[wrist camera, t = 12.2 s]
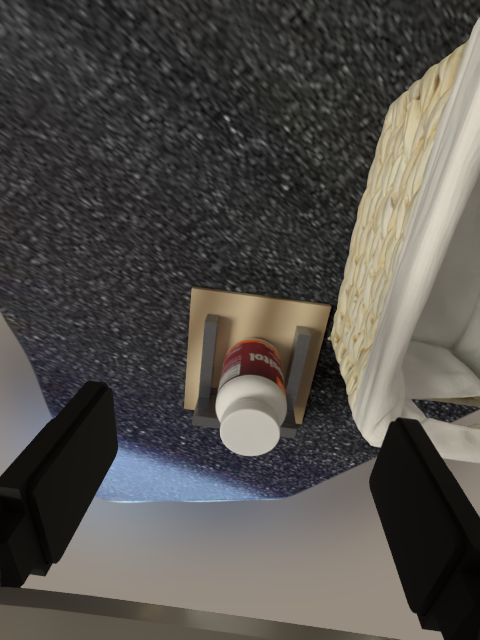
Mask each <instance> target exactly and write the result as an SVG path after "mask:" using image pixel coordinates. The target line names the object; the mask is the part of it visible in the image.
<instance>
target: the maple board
mask: <svg viewBox="0 0 480 640" xmlns="http://www.w3.org/2000/svg"><path fill="white" fill-rule="evenodd" d="M330 309H331V306H330V305H329V304H321V303H314V302H306V301H299V300H291V299H284V298H276V297H269V296H261V295H254V294H246V293H239V292H231V291H224V290H216V289H209V288H201V287H192V292H191V308H190V324H189V340H188V355H187V371H186V387H185V403H184V409H191V410H195V407H196V403H197V400H198V395H199V383H200V371H201V359H202V347H203V335H204V323H205V319H206V317H207V314H214V315H219V323H218V332H217V342H216V352H215V361H214V371H213V380H212V388H219V384H220V379H221V374H222V369H223V364H224V359H225V356H226V354H227V352H228V350H229V349H230V348H231V346H233V345H234V344H235V343H237V342H238V341H240V340H243V339H247V338H257V339H262V340H264V341H267V342H269V343H270V344H271V345H273V346H274V347H275V348H276V350H277V351H278V353H279V355H280V358H281V362H282V370H283V378H284V382H285V377H286V372H287V368H288V363H289V358H290V354H291V349H292V344H293V340H294V335H295V330H296V325H297V326H305V327H308V328H309V331H310V334H311V338H310V342H309V347H308V351H307V355H306V359H305V363H304V368H303V372H302V376H301V380H300V385H299V389H298V393H297V397H296V402H295V406H294V415H295V422H296V423H297V424H302V420H303V416H304V412H305V408H306V404H307V400H308V396H309V392H310V388H311V384H312V380H313V376H314V372H315V368H316V365H317V361H318V357H319V353H320V349H321V345H322V341H323V337H324V333H325V329H326V325H327V321H328V317H329V313H330Z"/></svg>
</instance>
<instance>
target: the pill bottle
mask: <svg viewBox="0 0 480 640" xmlns="http://www.w3.org/2000/svg"><path fill="white" fill-rule="evenodd" d="M286 413H287V402H286V394H285V385H284V378H283V370H282V362H281V358H280V355H279V353H278V351H277V350H276V348H275V347H274V346H273V345H271V344H270V343H269V342H267V341H264V340H262V339H257V338H247V339H243V340H240V341H238V342H237V343H235V344H234V345H233V346H231V348H230V349H229V350H228V352H227V354H226V356H225V359H224V364H223V369H222V374H221V379H220V384H219V389H218V394H217V398H216V414H217V417H218V419H219V421H220V423H221V425H220V436H221V439H222V441H223V443H224V444H225V445H226V447H227V448H229V449H230V450H231V451H233V452H235V453H237V454H240V455H244V456H257V455H261V454H264V453H266V452H268V451H270V450H271V449H273V448H274V447H275V446H276V444H277V443H278V441H279V438H280V426H281V425H282V423H283V421H284V419H285V417H286Z"/></svg>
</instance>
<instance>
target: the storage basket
mask: <svg viewBox="0 0 480 640" xmlns="http://www.w3.org/2000/svg"><path fill="white" fill-rule="evenodd" d="M328 340H331V341H332V344H333V349H334V350H335V354H336V359H337V361H338V363H339V364H340V371H341V375H342V377H343V378H344V381H345V383H346V391H347V394H348V395H349V396H348V401H349V404H350V407H351V410H352V416H353V419H354V421H355V422H356V425H357V427H358V429H359V431H360V432H361V433H362V436H363V437H364V438H365V439H366V440H367V441H368V442H369V444H370V445H372V446H375V447H381V446H382V443H383V440H384V437H385V435H386V432H387V429H388V427H389V424H390V422H391V421H395V420H396V419H397V418H398V417H401V418H409V419H416V420H418V421H419V422H420V423H421V425H422V427H423V428H424V430H425V432H426V433H427V435H428V436H429V438H430V440H431V441H432V443H433V444H434V446H435V448H436V449H437V451H438V452H439V454H440V456H441V457H442V458H445V459H452V460H459V461H468V462H475V463H480V424H474V425H471V426H467V427H466V426H462V425H457V424H451V423H447V422H443V421H438V420H435V419H432V418H428V419H427V418H426V417H425V415H424V414H423V412H422V411H421V410H420V409H419V408H418V407H417V406H416V405H415V404H414V402H413V401H412V400H411V399H427V400H431V401H441V402H452V403H455V404H465V405H469V406H477V407H479V408H480V18H479V19H478V20H477V22H476V24H475V26H474V28H473V30H472V33H471V36H470V39H469V40H468V41H467V42H466V43H465V44H463V45H461V46H460V47H458V48H457V49H456V50H455V51H454V52H453V53H452V54H450V55H449V56H447V57H446V58H445V59H443V60H442V61H441V62H440V63H439V64H435V65H434V66H432V67H431V68H430V69H429V70H428V71H427V72H426V73H425V75H424V77H423V78H422V79H421V80H417V81H416V82H415V83H413V84H412V85H411V86H410V88H409V90H408V91H406V92H404V93H403V94H402V95H401V96H400V97H399V98H398V99H397V100H396V101H394V102H393V103H392V104H391V105H390V107H389V111H388V113H387V115H386V117H385V123H384V126H383V130H382V134H381V137H380V139H379V141H378V144H377V148H376V156H375V158H374V161H373V163H372V166H371V168H370V171H369V175H368V181H367V189H366V191H365V192H364V195H363V197H362V199H361V202H360V205H359V208H358V214H357V222H356V224H355V227H354V230H353V233H352V237H351V244H350V251H349V257H348V259H347V262H346V266H345V272H344V280H343V282H342V285H341V287H340V292H339V297H338V305H337V311H336V313H335V315H334V325H333V329H332V332H331V337H329V338H328Z"/></svg>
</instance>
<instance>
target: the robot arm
mask: <svg viewBox="0 0 480 640" xmlns="http://www.w3.org/2000/svg"><path fill="white" fill-rule="evenodd" d="M117 451H118V441H117V431H116V422H115V412H114V402H113V393H112V389H111V388H108V386H107V384H106V383H103V382H94V381H87V382H86V383H85V384H84V385H83V387H82V388H81V389H80V390H79V391H78V392H77V393H76V395H75V396H74V397H73V398H72V399H71V400H70V401H69V403H68V404H67V405H66V406H65V407H64V408H63V409H62V411H61V412H60V413H59V414H58V415H57V416H56V417H55V418H54V419H52V420H51V421H50V422H49V423H47V424H46V426H45V427H44V428H43V429H42V430H41V431H40V432H39V433H38V435H37V436H36V437H35V438H34V439H33V440H32V441H31V443H30V444H29V445H28V446H27V447H26V448H25V449H24V450H23V451H22V453H21V454H20V455H19V456H18V457H17V458H16V459H15V461H14V462H13V463H12V464H11V465H10V466H9V467H8V468H7V470H6V471H5V472H4V473H3V474H2V475H1V476H0V640H399V639H393V638H387V637H380V636H373V635H366V634H359V633H352V632H346V631H339V630H332V629H325V628H318V627H312V626H305V625H297V624H291V623H284V622H277V621H270V620H263V619H256V618H249V617H242V616H234V615H227V614H220V613H213V612H206V611H198V610H192V609H184V608H178V607H170V606H163V605H155V604H148V603H140V602H133V601H126V600H118V599H111V598H103V597H95V596H88V595H79V594H71V593H62V592H53V591H45V590H36V589H27V588H21V586H22V585H23V584H24V583H25V581H26V579H27V577H28V576H29V574H32V575H39V576H46V574H47V572H48V570H49V569H50V567H51V565H52V563H55V564H56V563H57V562H58V561H59V560H60V559H61V557H62V556H63V554H64V552H65V550H66V548H67V546H68V544H69V542H70V540H71V539H72V537H73V535H74V533H75V531H76V530H77V528H78V526H79V524H80V522H81V520H82V518H83V517H84V515H85V513H86V511H87V509H88V507H89V505H90V504H91V502H92V500H93V498H94V496H95V494H96V492H97V491H98V489H99V487H100V485H101V483H102V481H103V479H104V477H105V476H106V474H107V472H108V470H109V468H110V466H111V464H112V463H113V461H114V459H115V457H116V454H117ZM369 484H370V490H371V493H372V496H373V499H374V502H375V505H376V508H377V511H378V514H379V517H380V520H381V523H382V526H383V529H384V532H385V535H386V538H387V541H388V544H389V547H390V550H391V553H392V556H393V559H394V562H395V565H396V569H397V571H398V575H399V578H400V581H401V584H402V587H403V590H404V593H405V596H406V599H407V602H408V604H409V607H410V609H411V610H412V612H413V613H417V616H418V619H419V621H420V624H421V627H422V629H427V630H433V631H440V632H441V633H442V635H443V638H444V640H480V517H479V516H478V514H477V513H476V511H475V509H474V508H473V506H472V504H471V503H470V501H469V500H468V498H467V496H466V495H465V493H464V492H463V490H462V488H461V487H460V485H459V484H458V482H457V480H456V479H455V477H454V476H453V474H452V472H451V471H450V470H449V469H448V467H447V466H446V464H445V462H444V460H443V459H442V457H441V456H440V454H439V452H438V451H437V449H436V448H435V446H434V444H433V443H432V441H431V440H430V438H429V436H428V435H427V433H426V432H425V430H424V428H423V427H422V425H421V423H420V422H419V421H418V420H416V419H409V418H401V417H398V418H397V419H396V420H395V421H391V422H390V424H389V427H388V429H387V432H386V435H385V437H384V440H383V443H382V446H381V448H380V451H379V454H378V456H377V459H376V462H375V465H374V468H373V470H372V473H371V476H370V481H369Z"/></svg>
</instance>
